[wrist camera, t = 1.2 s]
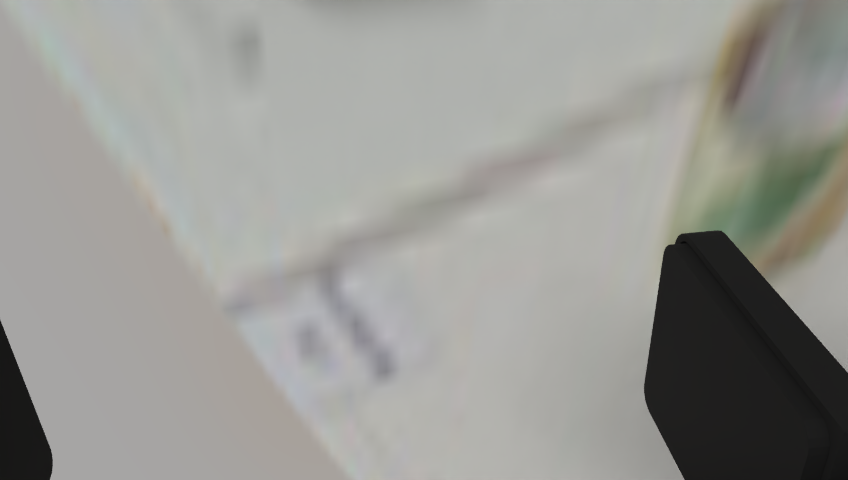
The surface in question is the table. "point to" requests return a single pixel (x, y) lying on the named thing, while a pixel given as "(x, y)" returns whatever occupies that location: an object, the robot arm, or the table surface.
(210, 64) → the table surface
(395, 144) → the table surface
